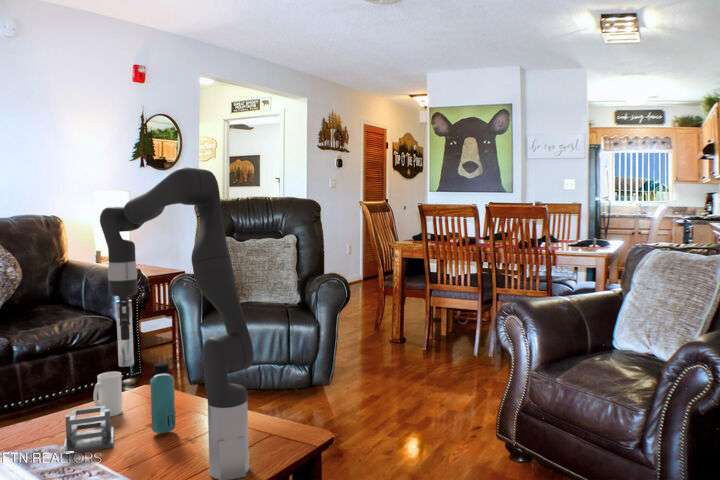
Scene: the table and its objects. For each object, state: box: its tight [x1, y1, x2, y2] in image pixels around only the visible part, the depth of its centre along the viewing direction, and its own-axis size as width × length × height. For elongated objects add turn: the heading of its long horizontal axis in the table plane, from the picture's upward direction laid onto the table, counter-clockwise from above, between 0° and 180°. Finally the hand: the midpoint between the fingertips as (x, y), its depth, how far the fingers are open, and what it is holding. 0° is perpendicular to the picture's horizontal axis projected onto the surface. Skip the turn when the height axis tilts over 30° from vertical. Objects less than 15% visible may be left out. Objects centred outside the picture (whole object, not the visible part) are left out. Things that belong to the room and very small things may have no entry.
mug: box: [92, 371, 123, 417], centre depth 177 cm, size 10×7×12 cm, turn 162°
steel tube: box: [115, 306, 135, 368], centre depth 165 cm, size 4×4×18 cm
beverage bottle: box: [149, 361, 177, 434], centre depth 162 cm, size 6×7×20 cm
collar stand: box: [61, 406, 115, 454], centre depth 157 cm, size 12×12×8 cm
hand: (125, 337), depth 165 cm, fingers closed on steel tube, 4 cm apart
